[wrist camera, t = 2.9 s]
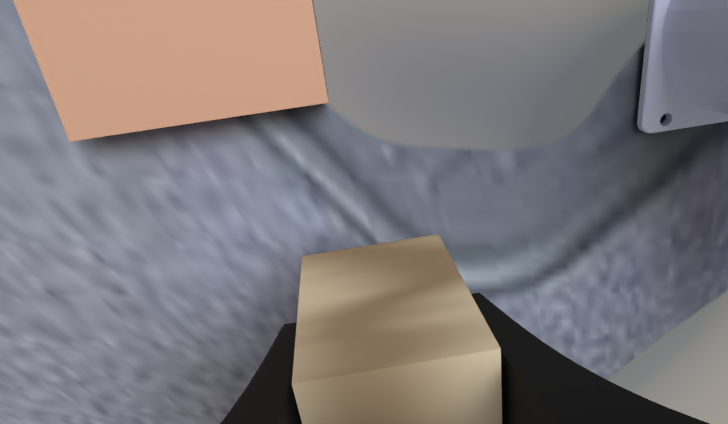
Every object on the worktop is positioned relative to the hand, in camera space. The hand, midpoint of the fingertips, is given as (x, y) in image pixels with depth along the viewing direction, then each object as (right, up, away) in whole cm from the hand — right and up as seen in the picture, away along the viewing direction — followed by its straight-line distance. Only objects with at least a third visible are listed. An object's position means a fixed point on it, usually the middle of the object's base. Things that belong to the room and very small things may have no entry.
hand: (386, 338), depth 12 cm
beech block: (0, +1, +2) cm, 2 cm away
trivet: (-7, +12, +4) cm, 14 cm away
